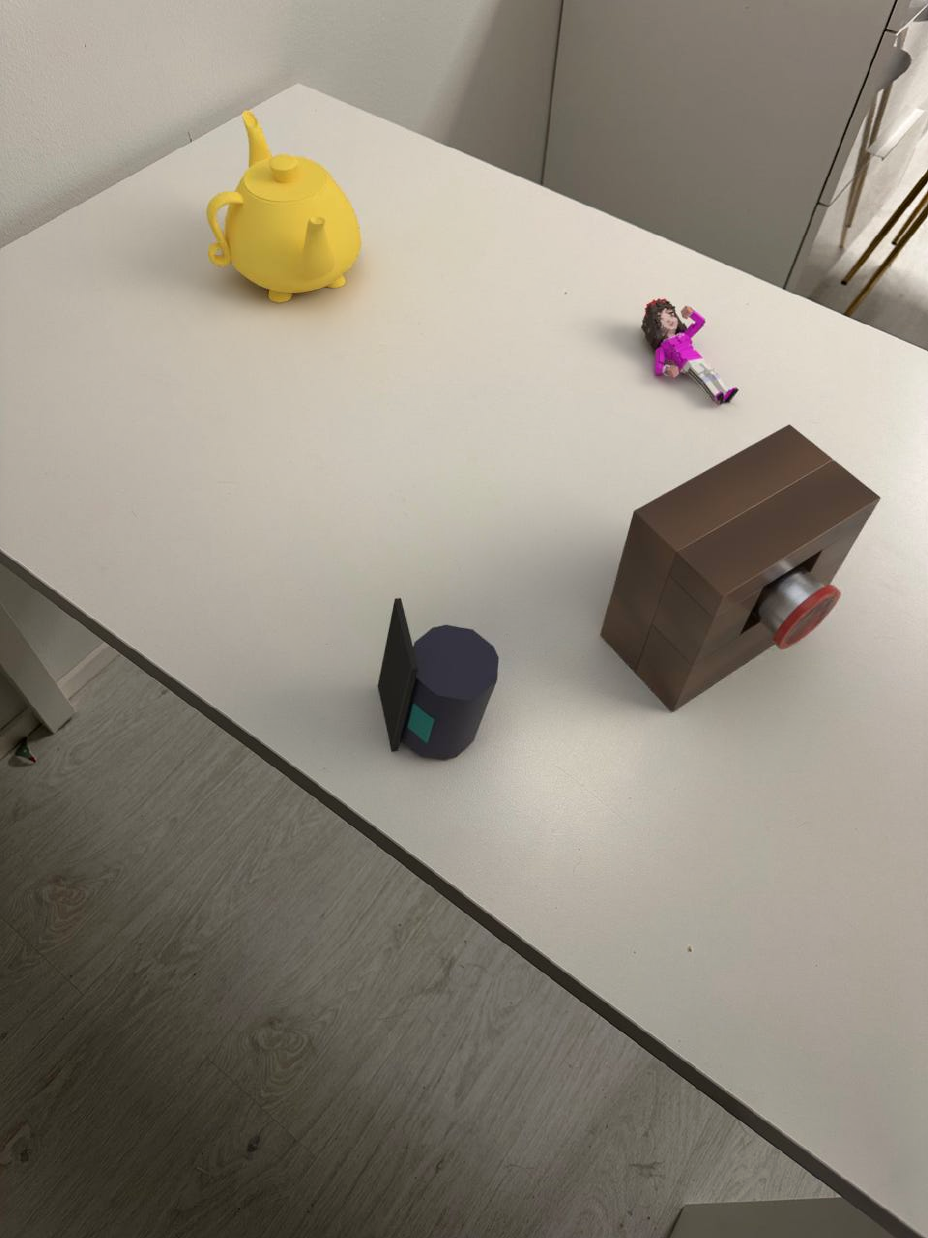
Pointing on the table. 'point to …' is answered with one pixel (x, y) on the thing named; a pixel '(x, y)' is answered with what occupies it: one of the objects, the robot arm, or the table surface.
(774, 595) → the knob
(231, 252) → the teapot
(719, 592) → the control box
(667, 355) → the character figurine
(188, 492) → the table surface
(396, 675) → the speaker
